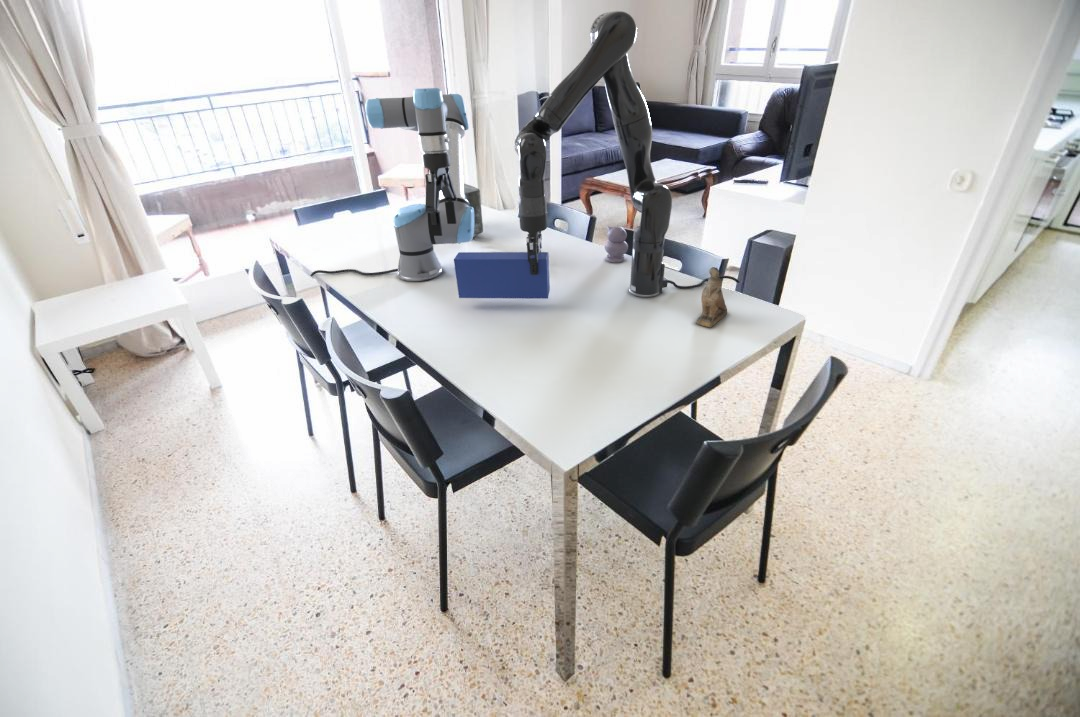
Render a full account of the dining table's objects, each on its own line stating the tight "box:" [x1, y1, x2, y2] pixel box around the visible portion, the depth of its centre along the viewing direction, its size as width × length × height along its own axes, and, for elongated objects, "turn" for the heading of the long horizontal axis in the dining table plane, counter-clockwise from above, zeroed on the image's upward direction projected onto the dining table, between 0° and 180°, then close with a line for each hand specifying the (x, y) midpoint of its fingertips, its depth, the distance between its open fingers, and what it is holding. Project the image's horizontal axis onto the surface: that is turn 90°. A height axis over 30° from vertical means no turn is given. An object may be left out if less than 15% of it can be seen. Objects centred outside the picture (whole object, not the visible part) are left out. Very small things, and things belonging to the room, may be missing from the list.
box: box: [453, 251, 551, 300], centre depth 145 cm, size 27×6×12 cm, turn 84°
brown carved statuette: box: [695, 266, 728, 328], centre depth 135 cm, size 12×6×18 cm, turn 136°
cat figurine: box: [604, 225, 629, 264], centre depth 178 cm, size 9×8×12 cm
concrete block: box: [464, 183, 484, 237], centre depth 209 cm, size 27×9×20 cm, turn 36°
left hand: (445, 229), depth 146 cm, fingers open, 13 cm apart
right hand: (535, 269), depth 143 cm, fingers closed on box, 6 cm apart
